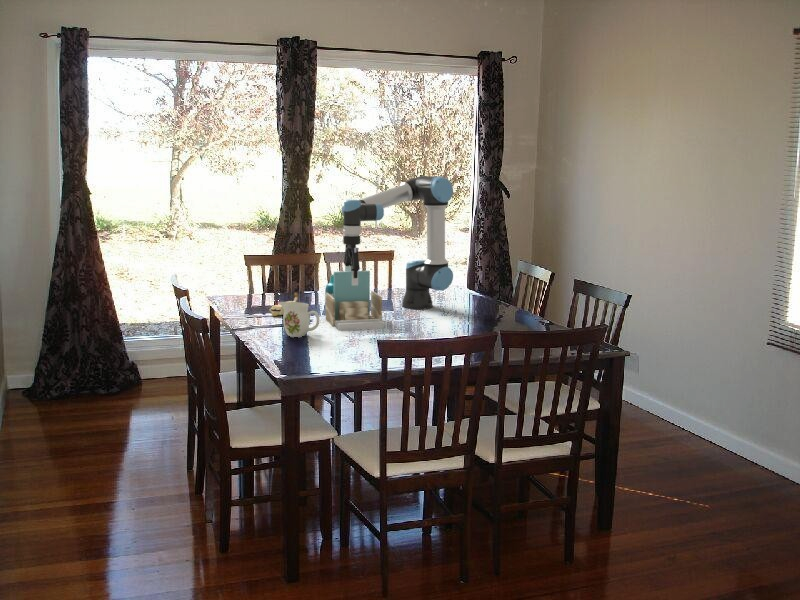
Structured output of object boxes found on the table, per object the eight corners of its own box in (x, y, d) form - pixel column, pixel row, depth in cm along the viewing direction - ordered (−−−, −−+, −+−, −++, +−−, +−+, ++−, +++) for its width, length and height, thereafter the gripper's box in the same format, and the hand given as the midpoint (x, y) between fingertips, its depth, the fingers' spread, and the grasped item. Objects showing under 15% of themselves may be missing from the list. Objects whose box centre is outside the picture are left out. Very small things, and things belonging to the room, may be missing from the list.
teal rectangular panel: (368, 318, 361) (368, 270, 357) (369, 319, 359) (369, 271, 355) (333, 320, 357) (333, 271, 352) (334, 321, 355) (334, 272, 351)
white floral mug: (315, 340, 325) (314, 307, 323) (273, 337, 329) (273, 304, 327) (323, 334, 336) (323, 302, 333) (283, 331, 340) (282, 299, 337)
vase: (344, 318, 368) (344, 277, 365) (322, 317, 370) (322, 276, 367) (350, 313, 378) (350, 273, 375) (328, 312, 380) (328, 272, 377)
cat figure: (287, 309, 394) (264, 314, 370) (288, 291, 393) (264, 296, 369) (306, 311, 391) (283, 316, 367) (306, 293, 390) (284, 297, 366)
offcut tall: (367, 320, 357) (367, 300, 356) (368, 321, 355) (368, 301, 353) (338, 321, 354) (338, 301, 352) (339, 323, 351) (339, 302, 350)
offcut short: (366, 322, 353) (366, 307, 352) (367, 323, 351) (367, 308, 349) (343, 323, 350) (343, 307, 349) (345, 324, 348) (345, 309, 346)
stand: (379, 327, 350) (379, 318, 350) (384, 331, 343) (384, 322, 343) (334, 329, 345) (334, 320, 344) (338, 333, 338) (338, 324, 337)
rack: (372, 320, 365) (373, 291, 363) (381, 327, 351) (382, 297, 348) (325, 322, 359) (325, 292, 356) (332, 329, 345) (332, 299, 342)
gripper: (337, 232, 361) (337, 278, 365) (350, 238, 338) (349, 287, 342) (353, 232, 364) (353, 278, 367) (367, 238, 340) (366, 287, 344)
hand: (351, 282), depth 355 cm, fingers open, 13 cm apart
